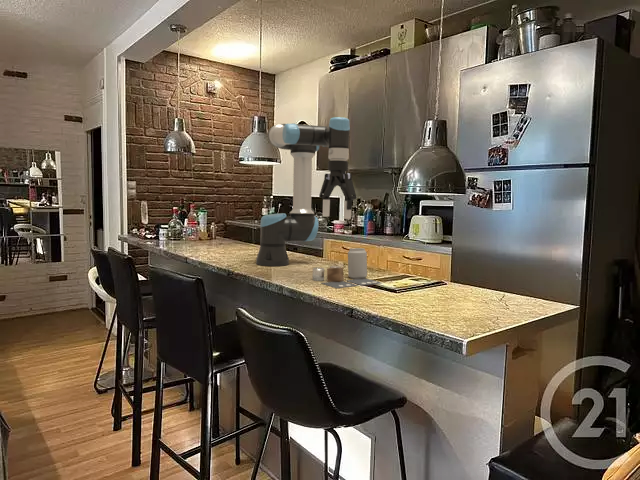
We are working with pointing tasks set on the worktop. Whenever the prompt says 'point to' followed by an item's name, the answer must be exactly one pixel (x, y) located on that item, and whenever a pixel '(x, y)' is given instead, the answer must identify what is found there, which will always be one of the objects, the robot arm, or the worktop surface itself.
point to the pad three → (363, 282)
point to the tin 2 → (334, 267)
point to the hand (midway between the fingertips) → (336, 217)
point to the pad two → (339, 284)
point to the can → (357, 263)
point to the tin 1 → (318, 274)
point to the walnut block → (335, 274)
